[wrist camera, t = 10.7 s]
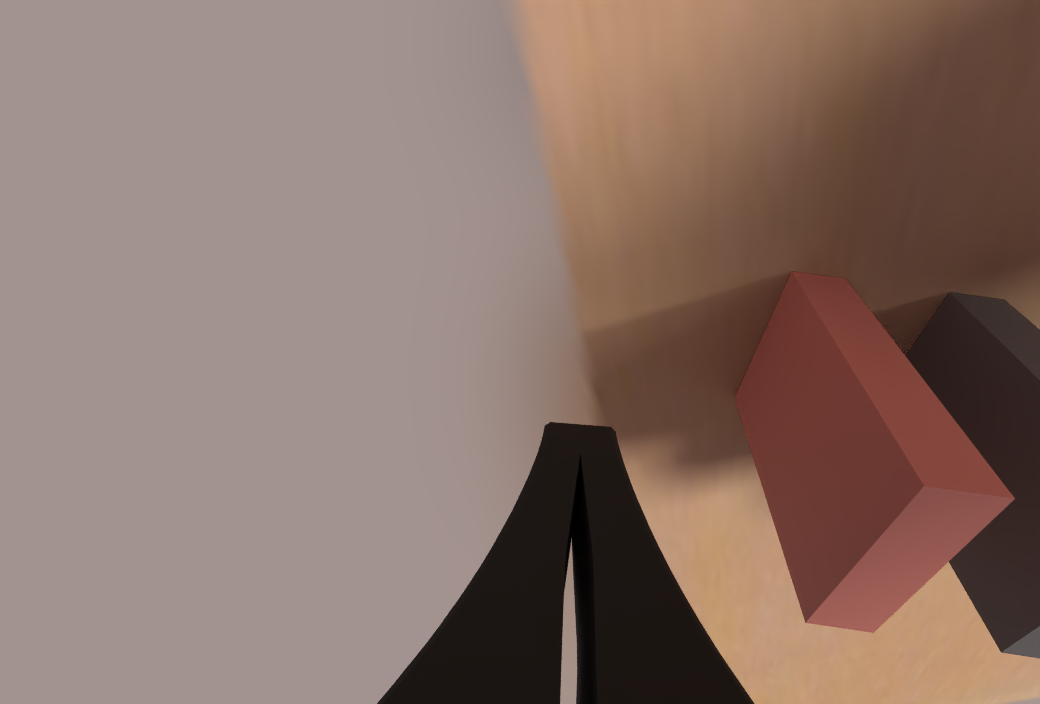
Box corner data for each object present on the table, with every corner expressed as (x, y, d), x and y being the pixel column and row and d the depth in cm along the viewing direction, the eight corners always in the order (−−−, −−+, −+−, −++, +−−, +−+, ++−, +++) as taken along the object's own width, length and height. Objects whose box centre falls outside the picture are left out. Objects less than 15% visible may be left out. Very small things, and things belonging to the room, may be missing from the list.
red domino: (845, 278, 14) (1015, 498, 8) (779, 404, 17) (873, 632, 11) (791, 271, 14) (924, 486, 8) (734, 398, 17) (805, 622, 11)
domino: (1004, 299, 14) (1280, 538, 8) (910, 422, 16) (1070, 662, 11) (949, 292, 14) (1187, 524, 8) (864, 416, 17) (1000, 652, 11)
